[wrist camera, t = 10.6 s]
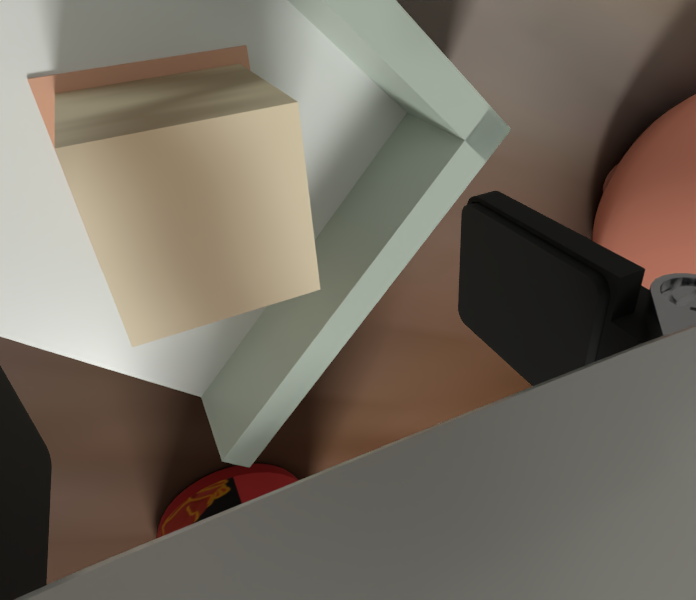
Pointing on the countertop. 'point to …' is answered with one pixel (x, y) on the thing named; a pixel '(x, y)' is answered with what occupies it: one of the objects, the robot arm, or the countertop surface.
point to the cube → (190, 195)
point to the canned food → (222, 494)
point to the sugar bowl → (654, 198)
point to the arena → (321, 167)
